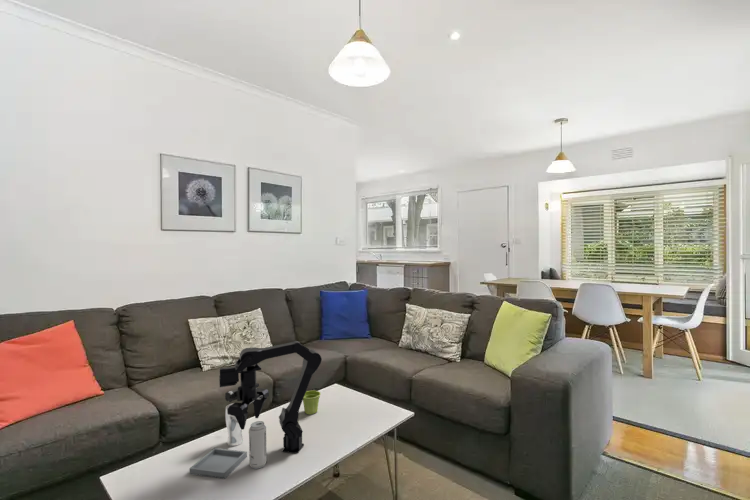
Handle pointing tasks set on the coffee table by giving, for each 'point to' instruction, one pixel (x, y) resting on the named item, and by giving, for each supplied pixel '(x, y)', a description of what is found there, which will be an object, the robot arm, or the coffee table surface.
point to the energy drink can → (257, 445)
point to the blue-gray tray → (218, 463)
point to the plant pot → (311, 401)
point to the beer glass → (233, 429)
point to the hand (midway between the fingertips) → (249, 423)
